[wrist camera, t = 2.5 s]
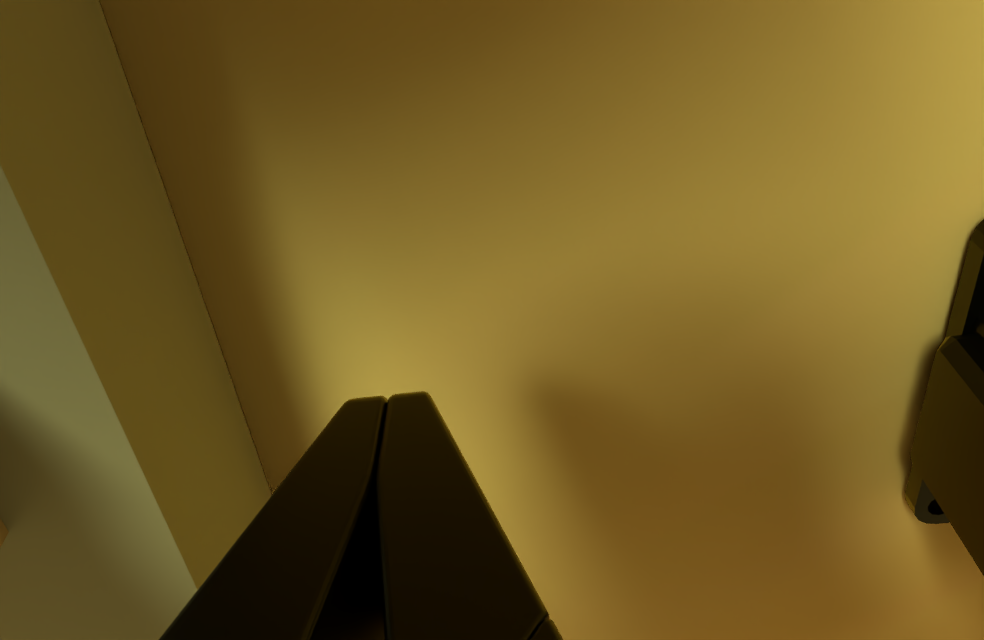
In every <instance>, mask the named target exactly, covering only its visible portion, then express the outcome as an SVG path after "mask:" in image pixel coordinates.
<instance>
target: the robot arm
mask: <svg viewBox="0 0 984 640" xmlns="http://www.w3.org/2000/svg"><path fill="white" fill-rule="evenodd" d="M910 458H911V461H912V463H913V464H912V467H911V471H910V475H909V479H908V483H907V487H906V491H905V499H906V501H907V503H908V505H909V506H910V508H911V510H912V511H913V513H914V515H915V516H916V517H917V519H918V520H919V521H922V522H924V523H929V524H939V523H949V522H950V523H951V525H952V526H953V528H954V529H955V531H956V533H957V534H958V536H959V537H960V539H961V541H962V542H963V544H964V545H965V547H966V548H967V550H968V552H969V553H970V555H971V556H972V558H973V560H974V561H975V563H976V564H977V566H978V567H979V569H980V571H981V572H982V574H983V575H984V220H983V221H982V222H981V223H980V224H979V225H978V226H977V227H976V229H975V231H974V233H973V235H972V237H971V239H970V243H969V247H968V251H967V255H966V259H965V263H964V266H963V270H962V274H961V278H960V282H959V286H958V290H957V293H956V297H955V301H954V305H953V309H952V313H951V317H950V321H949V324H948V328H947V332H946V336H945V340H944V341H943V342H942V344H941V345H940V347H939V348H938V350H937V352H936V355H935V359H934V362H933V366H932V370H931V374H930V378H929V382H928V386H927V390H926V394H925V398H924V402H923V406H922V410H921V414H920V418H919V421H918V425H917V429H916V433H915V437H914V441H913V445H912V449H911V453H910ZM159 640H563V638H562V637H561V635H560V633H559V631H558V629H557V627H556V626H555V624H554V622H553V621H552V620H550V619H549V614H548V612H547V610H546V608H545V606H544V604H543V603H542V601H541V599H540V597H539V595H538V593H537V591H536V590H535V588H534V586H533V584H532V582H531V580H530V579H529V577H528V575H527V573H526V571H525V569H524V567H523V566H522V564H521V562H520V560H519V558H518V556H517V555H516V553H515V551H514V549H513V547H512V545H511V543H510V542H509V540H508V538H507V536H506V534H505V532H504V531H503V529H502V527H501V525H500V523H499V521H498V519H497V518H496V516H495V514H494V512H493V510H492V508H491V507H490V505H489V503H488V501H487V499H486V497H485V495H484V494H483V492H482V490H481V488H480V486H479V484H478V483H477V481H476V479H475V477H474V475H473V473H472V471H471V470H470V468H469V466H468V464H467V462H466V460H465V459H464V457H463V455H462V453H461V451H460V449H459V447H458V446H457V444H456V442H455V440H454V438H453V436H452V435H451V433H450V431H449V429H448V427H447V425H446V423H445V422H444V420H443V418H442V416H441V414H440V412H439V411H438V409H437V407H436V405H435V403H434V401H433V399H432V398H431V396H430V395H429V394H428V393H427V392H423V391H421V392H412V393H402V394H394V395H392V396H391V397H390V398H389V400H387V399H386V398H385V397H384V396H374V397H364V398H354V399H350V400H348V401H347V402H345V403H344V404H343V405H342V407H341V408H340V409H339V410H338V412H337V413H336V414H335V416H334V417H333V418H332V419H331V421H330V422H329V423H328V424H327V426H326V427H325V428H324V430H323V431H322V432H321V433H320V435H319V436H318V437H317V438H316V440H315V441H314V442H313V444H312V445H311V446H310V447H309V449H308V450H307V451H306V452H305V454H304V455H303V456H302V458H301V459H300V460H299V461H298V463H297V464H296V465H295V467H294V468H293V469H292V470H291V472H290V473H289V474H288V475H287V477H286V478H285V479H284V481H283V482H282V483H281V484H280V486H279V487H278V488H277V489H276V491H275V492H274V493H273V495H272V496H271V497H270V498H269V500H268V501H267V502H266V503H265V505H264V506H263V507H262V509H261V510H260V511H259V512H258V514H257V515H256V516H255V517H254V519H253V520H252V521H251V523H250V524H249V525H248V526H247V528H246V529H245V530H244V531H243V533H242V534H241V535H240V537H239V538H238V539H237V540H236V542H235V543H234V544H233V545H232V547H231V548H230V549H229V551H228V552H227V553H226V554H225V556H224V557H223V558H222V559H221V561H220V562H219V563H218V565H217V566H216V567H215V568H214V570H213V571H212V572H211V573H210V575H209V576H208V577H207V579H206V580H205V581H204V582H203V584H202V585H201V586H200V587H199V589H198V590H197V591H196V593H195V594H194V595H193V596H192V598H191V599H190V600H189V601H188V603H187V604H186V605H185V607H184V608H183V609H182V610H181V612H180V613H179V614H178V616H177V617H176V618H175V619H174V621H173V622H172V623H171V624H170V626H169V627H168V628H167V630H166V631H165V632H164V633H163V635H162V636H161V637H160V638H159Z"/></svg>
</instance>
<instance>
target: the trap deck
mask: <svg viewBox="0 0 984 640" xmlns="http://www.w3.org/2000/svg"><path fill="white" fill-rule="evenodd" d="M271 496H272V494H271V491H270V488H269V486H268V483H267V480H266V477H265V474H264V471H263V468H262V465H261V463H260V460H259V457H258V454H257V451H256V448H255V445H254V443H253V440H252V437H251V434H250V431H249V428H248V425H247V423H246V420H245V417H244V414H243V411H242V408H241V405H240V403H239V400H238V397H237V394H236V391H235V388H234V385H233V383H232V380H231V377H230V374H229V371H228V368H227V365H226V362H225V360H224V357H223V354H222V351H221V348H220V345H219V342H218V340H217V337H216V334H215V331H214V328H213V325H212V322H211V320H210V317H209V314H208V311H207V308H206V305H205V302H204V300H203V297H202V294H201V291H200V288H199V285H198V282H197V279H196V277H195V274H194V271H193V268H192V265H191V262H190V259H189V257H188V254H187V251H186V248H185V245H184V242H183V239H182V237H181V234H180V231H179V228H178V225H177V222H176V219H175V217H174V214H173V211H172V208H171V205H170V202H169V199H168V196H167V194H166V191H165V188H164V185H163V182H162V179H161V176H160V174H159V171H158V168H157V165H156V162H155V159H154V156H153V154H152V151H151V148H150V145H149V142H148V139H147V136H146V134H145V131H144V128H143V125H142V122H141V119H140V116H139V114H138V111H137V108H136V105H135V102H134V99H133V96H132V93H131V91H130V88H129V85H128V82H127V79H126V76H125V73H124V71H123V68H122V65H121V62H120V59H119V56H118V53H117V51H116V48H115V45H114V42H113V39H112V36H111V33H110V31H109V28H108V25H107V22H106V19H105V16H104V13H103V10H102V8H101V5H100V2H99V0H0V518H1V520H2V522H3V523H4V525H5V526H6V528H7V530H8V531H9V533H8V535H7V536H6V538H5V540H4V542H3V544H2V546H1V548H0V640H159V638H160V637H161V636H162V635H163V633H164V632H165V631H166V630H167V628H168V627H169V626H170V624H171V623H172V622H173V621H174V619H175V618H176V617H177V616H178V614H179V613H180V612H181V610H182V609H183V608H184V607H185V605H186V604H187V603H188V601H189V600H190V599H191V598H192V596H193V595H194V594H195V593H196V591H197V590H198V589H199V587H200V586H201V585H202V584H203V582H204V581H205V580H206V579H207V577H208V576H209V575H210V573H211V572H212V571H213V570H214V568H215V567H216V566H217V565H218V563H219V562H220V561H221V559H222V558H223V557H224V556H225V554H226V553H227V552H228V551H229V549H230V548H231V547H232V545H233V544H234V543H235V542H236V540H237V539H238V538H239V537H240V535H241V534H242V533H243V531H244V530H245V529H246V528H247V526H248V525H249V524H250V523H251V521H252V520H253V519H254V517H255V516H256V515H257V514H258V512H259V511H260V510H261V509H262V507H263V506H264V505H265V503H266V502H267V501H268V500H269V498H270V497H271Z"/></svg>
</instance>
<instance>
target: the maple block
mask: <svg viewBox="0 0 984 640" xmlns="http://www.w3.org/2000/svg"><path fill="white" fill-rule="evenodd" d="M8 533H9V531H8V530H7V528H6V526H5V525H4V523H3V522H2V520H1V518H0V548H1V546H2V544H3V542H4V540H5V538H6V536H7V535H8Z"/></svg>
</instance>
